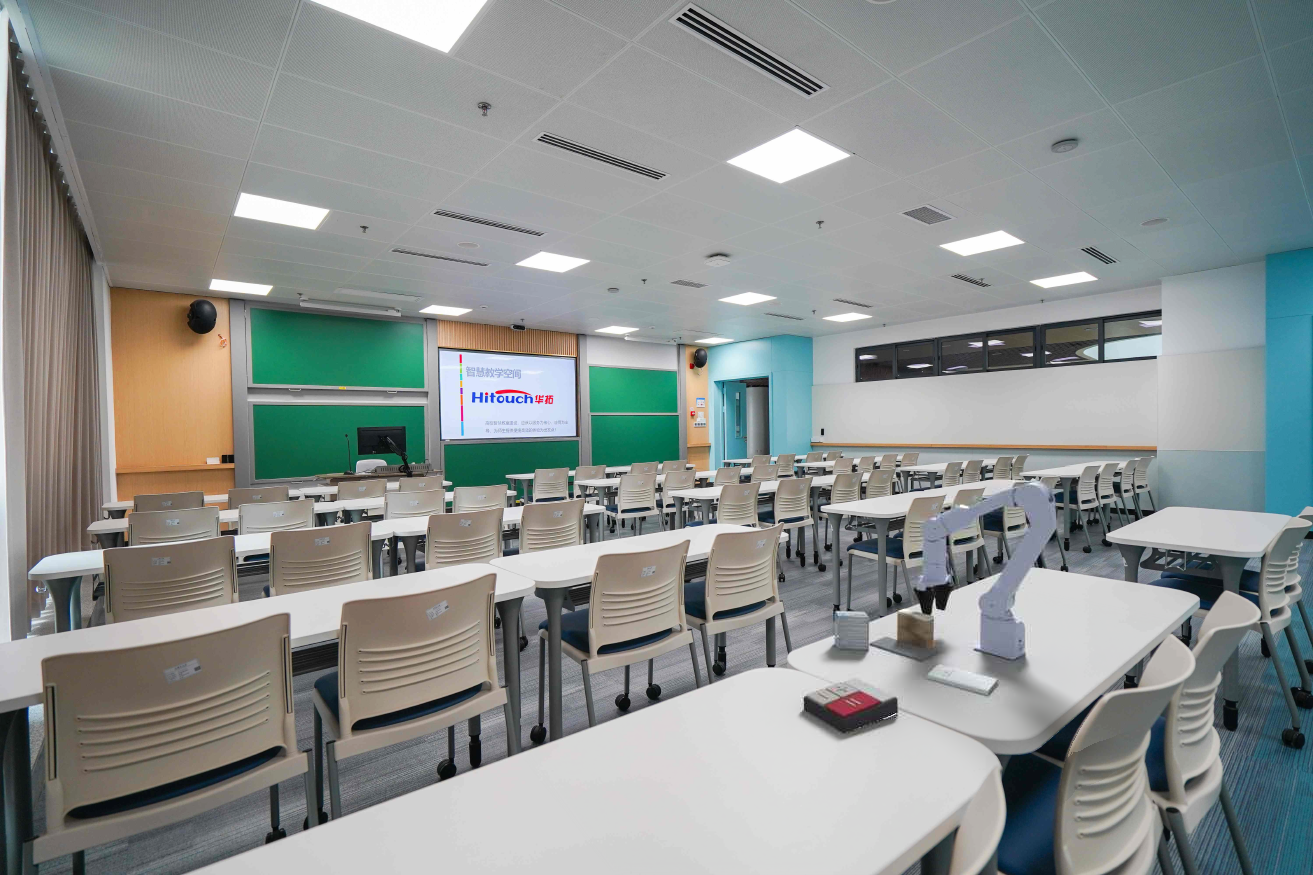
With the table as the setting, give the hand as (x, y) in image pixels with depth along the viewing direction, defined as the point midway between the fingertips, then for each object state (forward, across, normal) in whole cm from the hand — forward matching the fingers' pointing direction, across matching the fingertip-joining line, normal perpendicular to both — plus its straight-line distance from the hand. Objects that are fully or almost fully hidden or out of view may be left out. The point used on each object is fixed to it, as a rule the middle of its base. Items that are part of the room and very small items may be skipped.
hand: (933, 612), depth 161 cm
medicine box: (+7, +25, -9) cm, 27 cm away
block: (+6, +10, 0) cm, 12 cm away
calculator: (+7, +55, +11) cm, 57 cm away
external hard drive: (+7, +23, +18) cm, 30 cm away
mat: (+6, +16, 0) cm, 17 cm away
